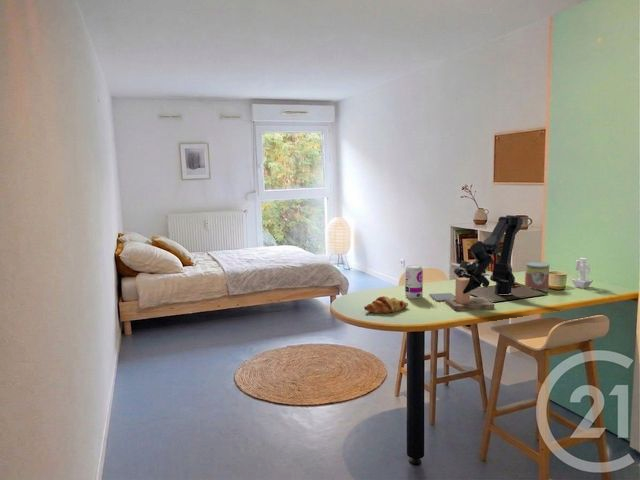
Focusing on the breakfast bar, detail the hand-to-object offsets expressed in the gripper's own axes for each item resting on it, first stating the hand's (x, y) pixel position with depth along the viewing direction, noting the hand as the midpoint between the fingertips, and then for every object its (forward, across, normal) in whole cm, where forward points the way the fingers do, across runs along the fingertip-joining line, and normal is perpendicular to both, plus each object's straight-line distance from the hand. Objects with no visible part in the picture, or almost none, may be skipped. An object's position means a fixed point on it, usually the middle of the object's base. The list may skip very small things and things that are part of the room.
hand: (460, 291), depth 221 cm
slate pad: (+3, -15, +6) cm, 17 cm away
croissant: (+28, -9, -18) cm, 35 cm away
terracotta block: (+4, 0, +6) cm, 7 cm away
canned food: (-35, -11, +45) cm, 59 cm away
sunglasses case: (-30, -25, +40) cm, 56 cm away
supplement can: (+12, -23, -2) cm, 26 cm away
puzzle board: (+2, +1, +8) cm, 8 cm away
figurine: (-49, -1, +59) cm, 77 cm away
